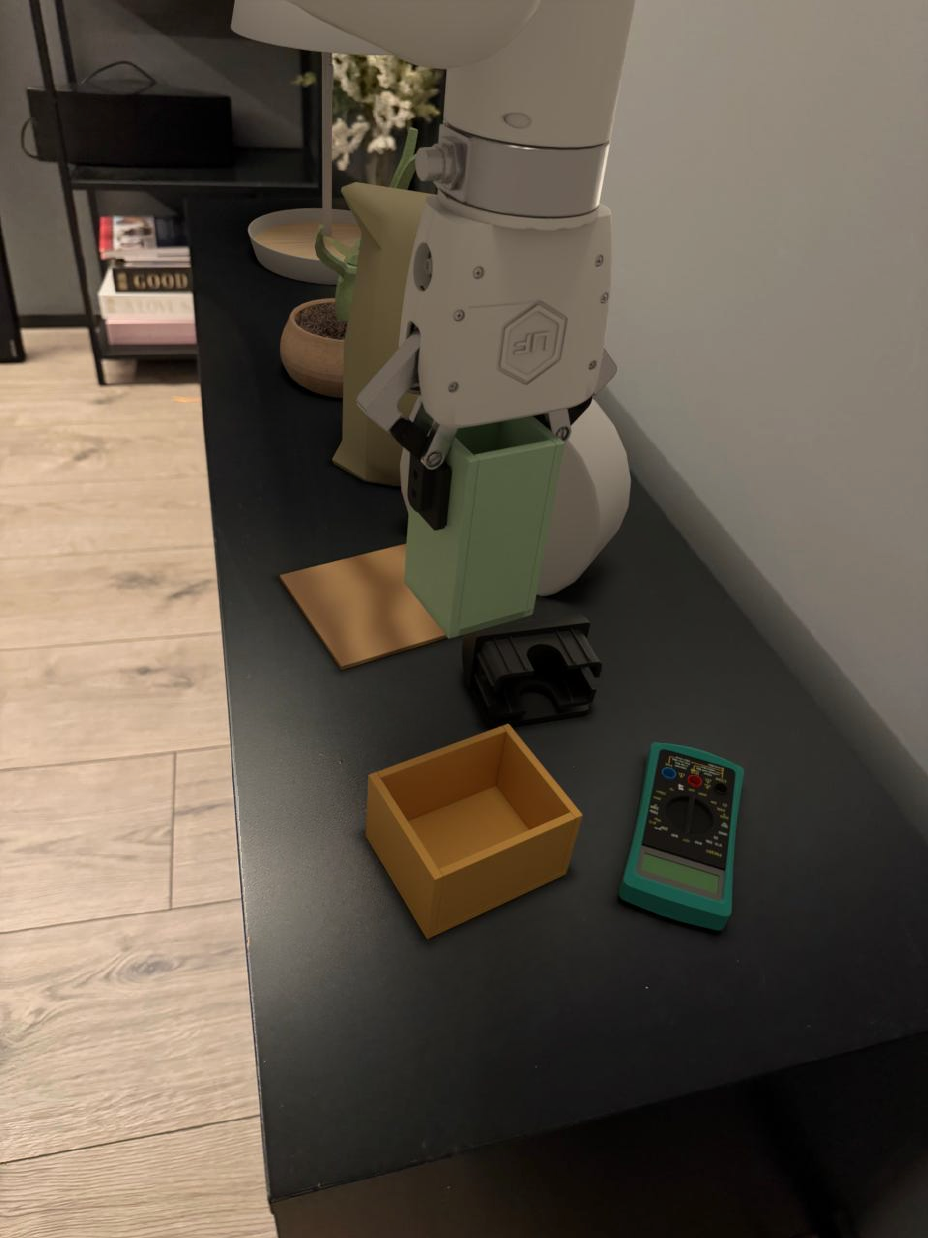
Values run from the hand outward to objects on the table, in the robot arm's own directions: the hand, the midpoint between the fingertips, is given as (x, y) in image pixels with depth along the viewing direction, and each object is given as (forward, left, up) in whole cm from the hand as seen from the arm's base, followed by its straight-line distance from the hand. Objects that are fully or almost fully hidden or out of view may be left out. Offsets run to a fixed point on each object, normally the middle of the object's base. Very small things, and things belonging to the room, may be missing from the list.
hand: (479, 503), depth 53 cm
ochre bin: (-1, -6, -26) cm, 26 cm away
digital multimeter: (+14, -12, -26) cm, 31 cm away
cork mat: (+6, +22, -26) cm, 34 cm away
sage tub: (0, 0, -7) cm, 7 cm away
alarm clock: (+21, +24, -26) cm, 41 cm away
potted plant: (+26, +66, -26) cm, 76 cm away
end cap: (+12, +6, -26) cm, 29 cm away
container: (+24, +44, -26) cm, 56 cm away
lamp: (+40, +109, -26) cm, 119 cm away
